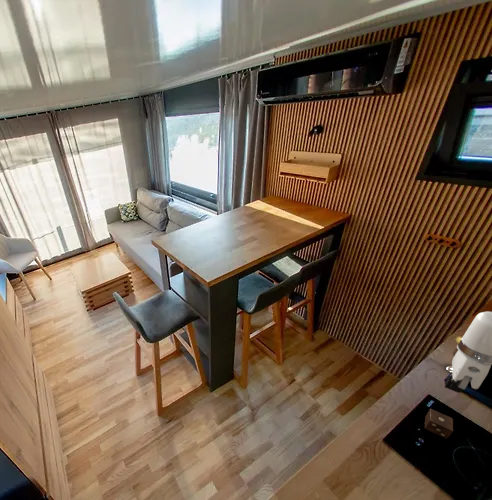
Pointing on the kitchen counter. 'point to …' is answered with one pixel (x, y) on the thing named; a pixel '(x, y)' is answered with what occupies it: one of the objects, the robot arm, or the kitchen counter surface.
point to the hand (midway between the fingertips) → (451, 388)
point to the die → (439, 423)
